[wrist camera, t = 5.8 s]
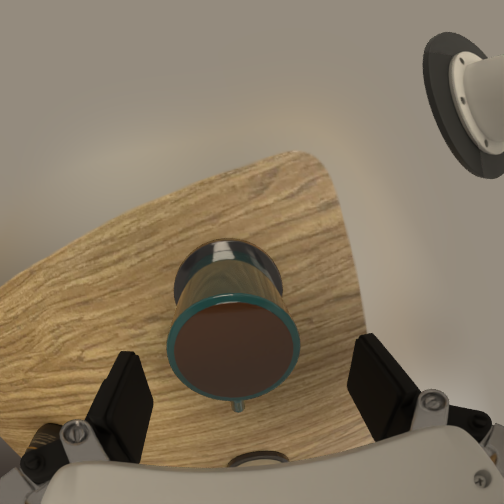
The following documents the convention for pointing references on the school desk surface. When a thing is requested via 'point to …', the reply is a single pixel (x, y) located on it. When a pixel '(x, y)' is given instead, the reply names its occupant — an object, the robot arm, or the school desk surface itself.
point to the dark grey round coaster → (258, 457)
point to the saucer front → (225, 245)
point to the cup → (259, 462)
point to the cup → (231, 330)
